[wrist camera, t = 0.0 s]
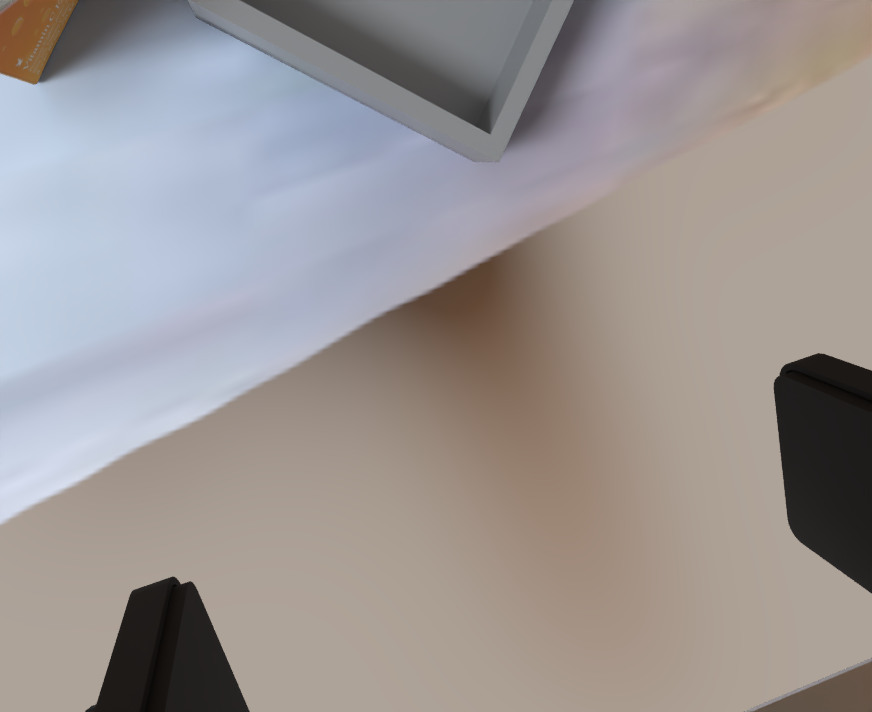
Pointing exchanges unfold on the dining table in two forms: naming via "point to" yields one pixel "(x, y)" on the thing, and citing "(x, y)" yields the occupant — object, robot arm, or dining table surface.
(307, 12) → the tray
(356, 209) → the dining table surface
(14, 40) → the small box
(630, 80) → the dining table surface
